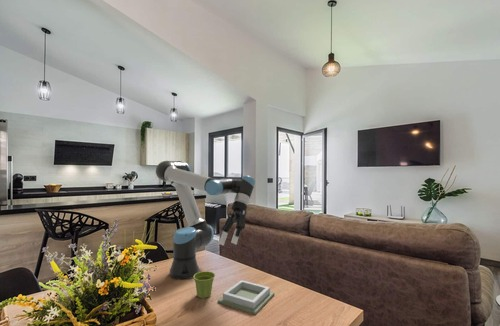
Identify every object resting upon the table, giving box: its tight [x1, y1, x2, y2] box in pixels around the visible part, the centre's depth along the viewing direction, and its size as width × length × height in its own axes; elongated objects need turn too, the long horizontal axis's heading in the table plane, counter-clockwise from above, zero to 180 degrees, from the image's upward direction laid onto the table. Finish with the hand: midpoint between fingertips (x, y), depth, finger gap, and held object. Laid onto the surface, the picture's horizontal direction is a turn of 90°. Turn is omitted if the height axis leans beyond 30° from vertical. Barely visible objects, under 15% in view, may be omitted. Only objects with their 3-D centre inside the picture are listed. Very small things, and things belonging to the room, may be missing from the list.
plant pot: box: [192, 270, 216, 299], centre depth 114 cm, size 9×9×9 cm
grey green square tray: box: [217, 279, 275, 315], centre depth 112 cm, size 18×18×4 cm
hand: (227, 244), depth 122 cm, fingers open, 13 cm apart
